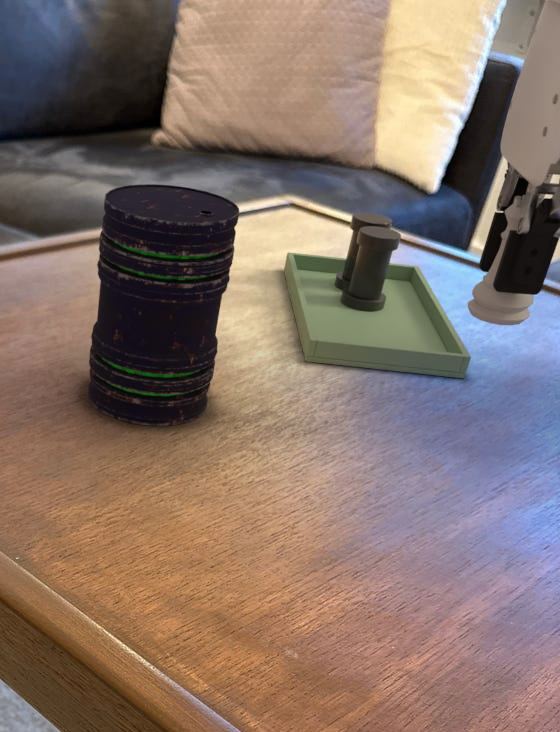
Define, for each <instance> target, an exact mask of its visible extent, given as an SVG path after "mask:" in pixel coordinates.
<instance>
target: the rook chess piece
mask: <svg viewBox="0 0 560 732" xmlns="http://www.w3.org/2000/svg"><path fill="white" fill-rule="evenodd" d="M524 198H525V195H523V197H522V200H521V196H516V197H515V198H514V202H513V204H512V205H511V206H510V207H508V208H507V209H506V210H505V215H506V218H507V221H508V225H507V228H506V230H505V231H504V232H503V233H501V237H502V242H501V246H500V249H499V251H498V253H497V255H496V258H495V260H494V262H493V264H492V266H491V268H490V270H489V271H488V272H486V274H485V275H483V276H482V280H481V281H480V282H478V283H476V284H475V286H474V287H473V289H472V291H471V295H472V297H473V298H472V299H470V300H468V301H467V309H468V312H469V313H470V315H471V316H472V317H474V318H476V319H477V320H480V321H481V322H485V323H488V324H493V325H498V326H517V325H520V324H522V323H524V321H526V320H527V319H528V318H529V317H531V311H530V310H529V309H528V308H529V307H531V306H532V305H533V304H534V295H530V294H518V293H506V292H497V291H496V290H495V289H494V287H493V282H494V279H495V276H496V273H497V270H498V267H499V263H500V260H501V257H502V254H503V251H504V248H505V245H506V241H507V238H508V235H509V232H510V230H516V229H517V224H518V220H519V216H520V213H521V209H522V205H523V202H524ZM544 198H545V197H544ZM544 198H542V197H539V199H538V203H537V206H536V208H537V207H538V205H539V204H540V203H541V202H542V200H543V199H544ZM516 231H517V230H516Z"/></svg>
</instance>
